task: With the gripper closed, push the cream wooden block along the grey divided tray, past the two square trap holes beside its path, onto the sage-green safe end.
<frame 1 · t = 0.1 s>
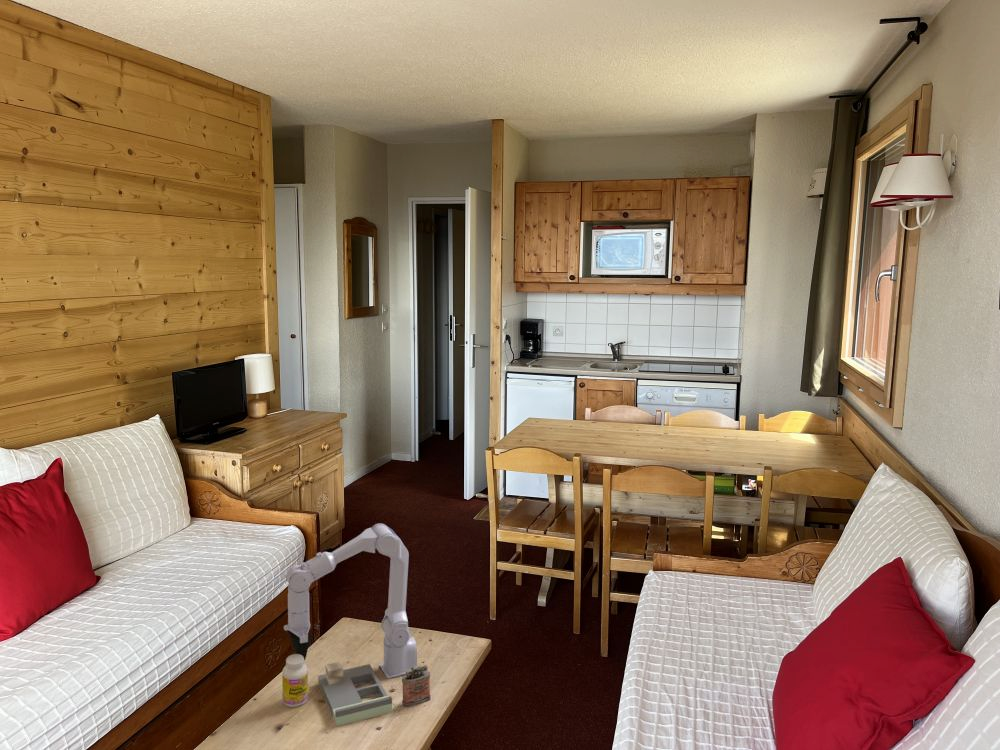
hand: (299, 655, 210), 11 cm above the table, tool pointing down, fingers open, 5 cm apart
grey divided tray: (354, 697, 209), on the table
block: (334, 679, 213), point 2 cm above the table, touching grey divided tray
supplement bottle: (295, 700, 207), on the table, touching gripper
ornate red tin: (416, 702, 207), on the table
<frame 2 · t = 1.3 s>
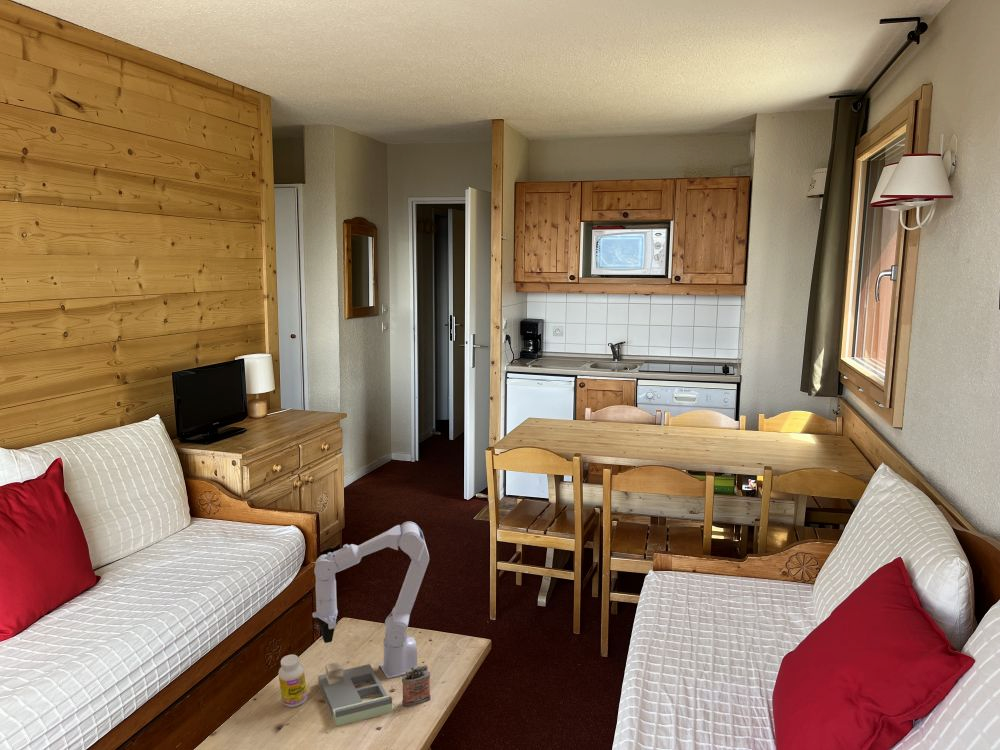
hand: (327, 641, 219), 10 cm above the table, tool pointing down, fingers closed
supplement bottle: (295, 700, 207), on the table
everything else where it was.
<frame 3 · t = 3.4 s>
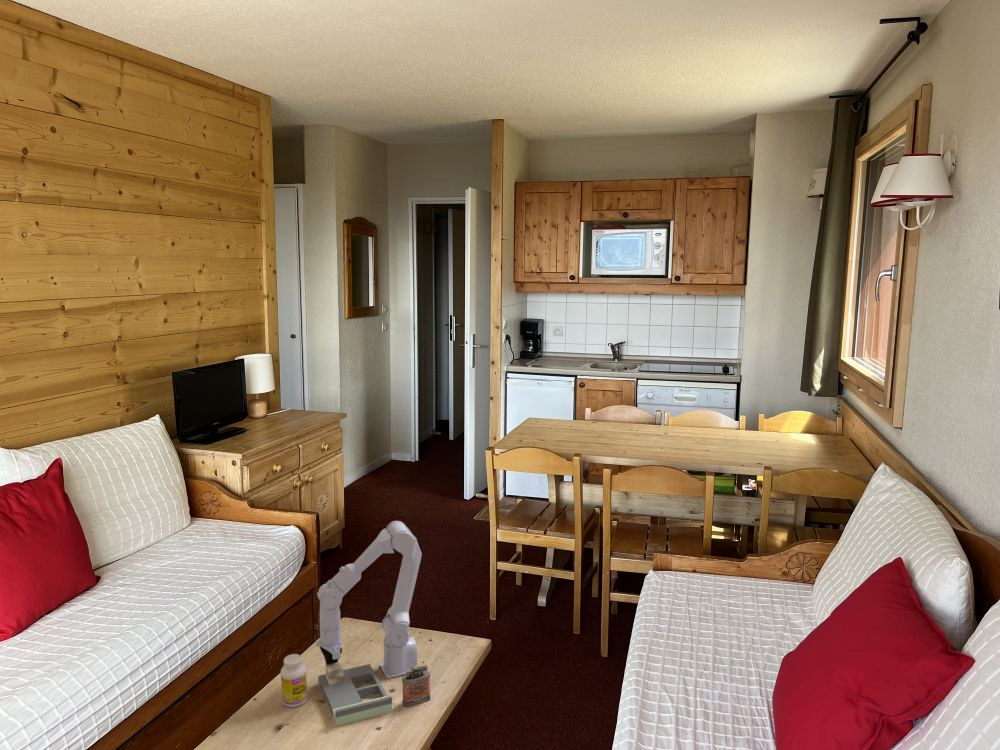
hand: (331, 670, 216), 4 cm above the table, tool pointing down, fingers closed
block: (334, 679, 213), point 3 cm above the table, touching gripper
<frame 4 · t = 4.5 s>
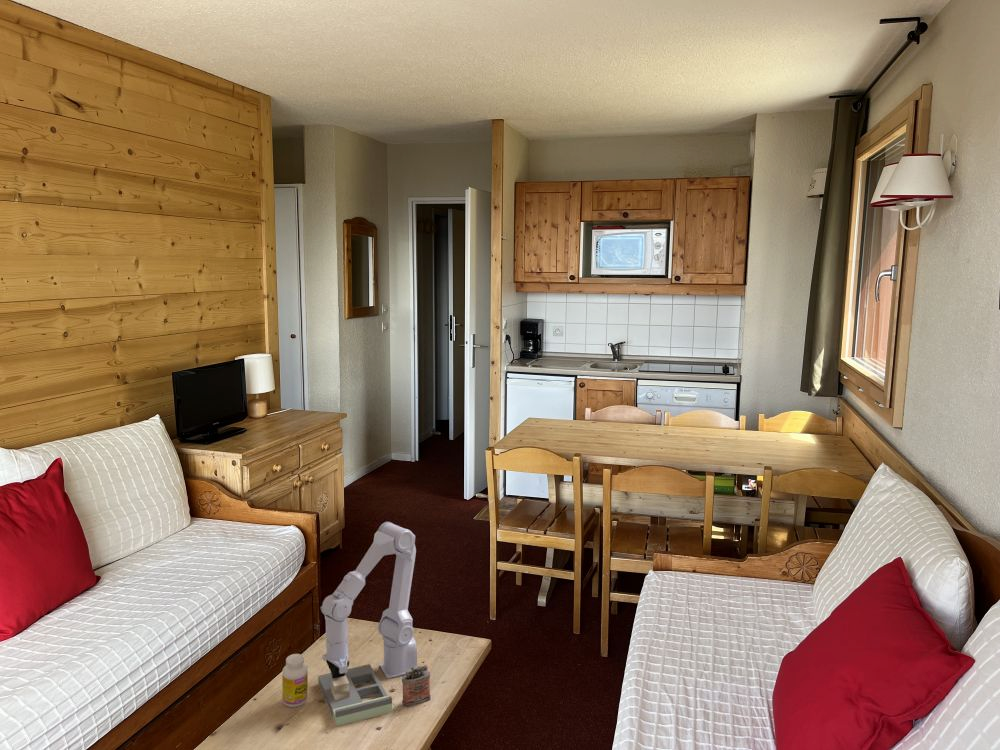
hand: (338, 684, 209), 4 cm above the table, tool pointing down, fingers closed
block: (340, 694, 206), point 3 cm above the table, touching gripper
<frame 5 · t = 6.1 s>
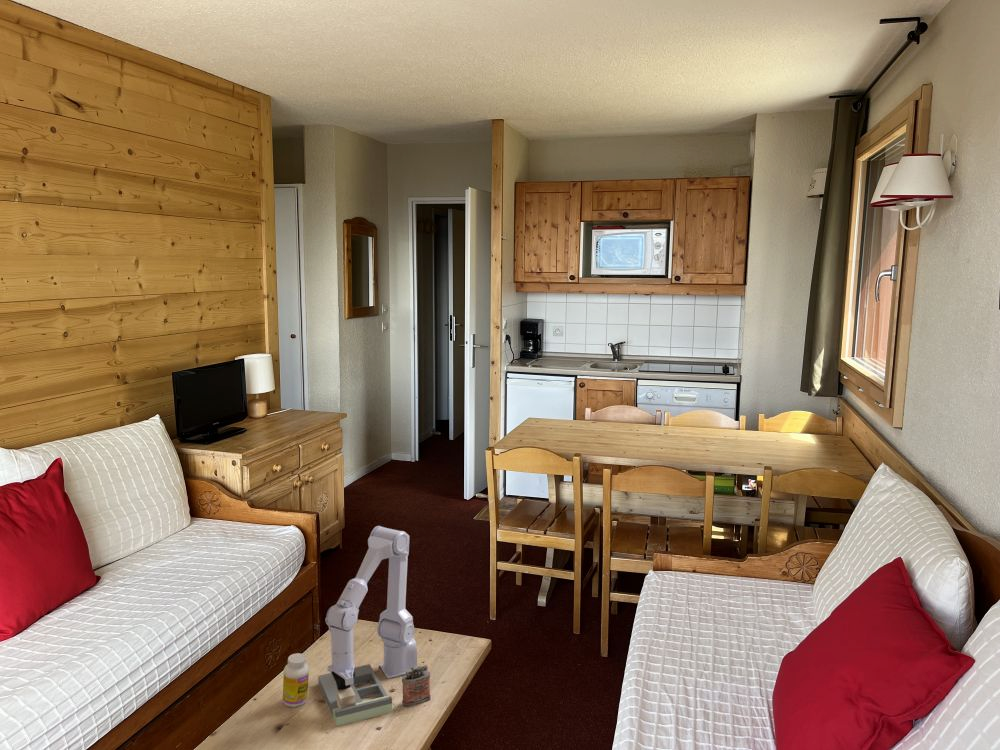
hand: (343, 696, 203), 4 cm above the table, tool pointing down, fingers closed
block: (346, 706, 200), point 2 cm above the table, touching grey divided tray, gripper
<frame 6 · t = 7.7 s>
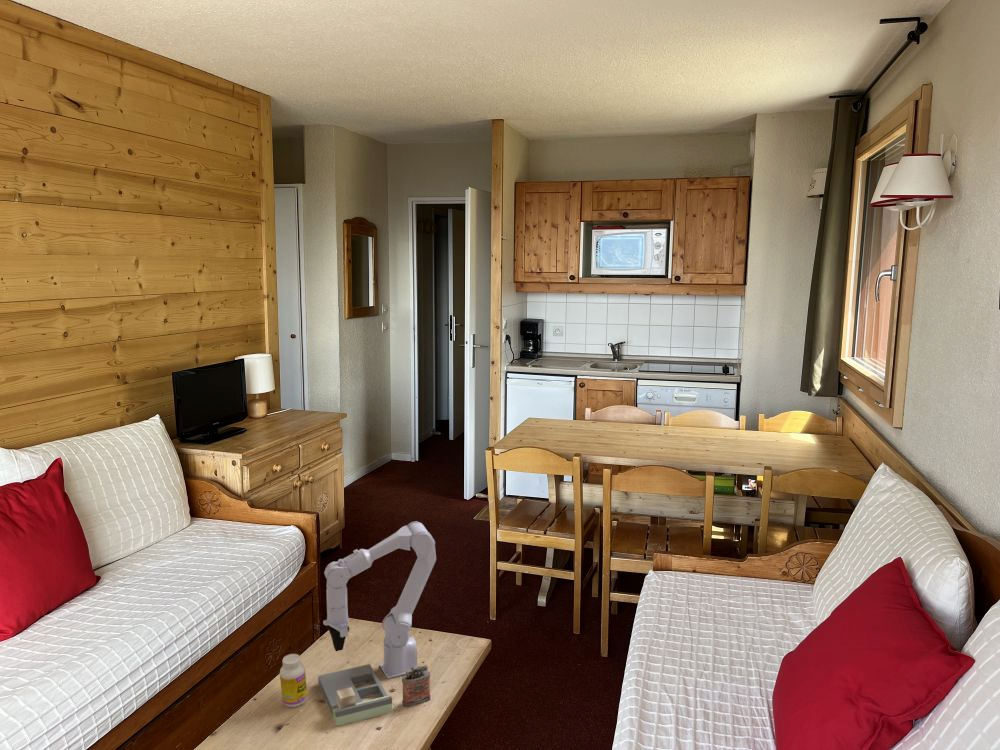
hand: (338, 649, 216), 9 cm above the table, tool pointing down, fingers closed
block: (346, 706, 200), point 2 cm above the table, touching grey divided tray
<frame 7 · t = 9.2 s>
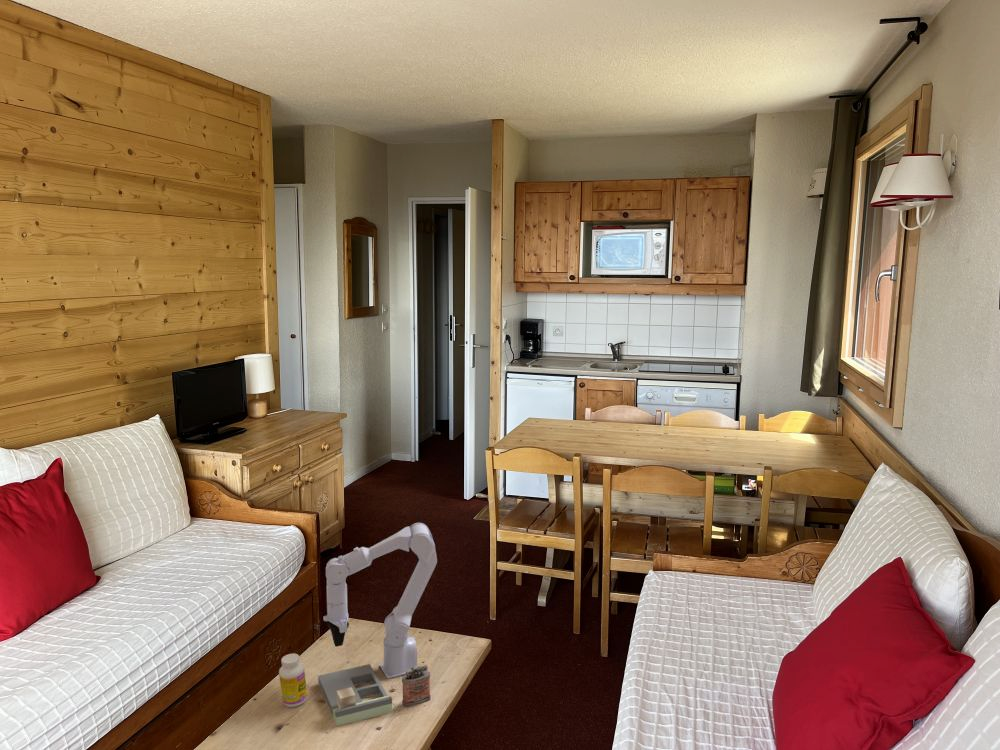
hand: (338, 645, 219), 9 cm above the table, tool pointing down, fingers closed
at the end: block 0.2 cm from the target spot on the grey divided tray, point 2.5 cm above the grey divided tray's base; block tilted 0° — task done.
